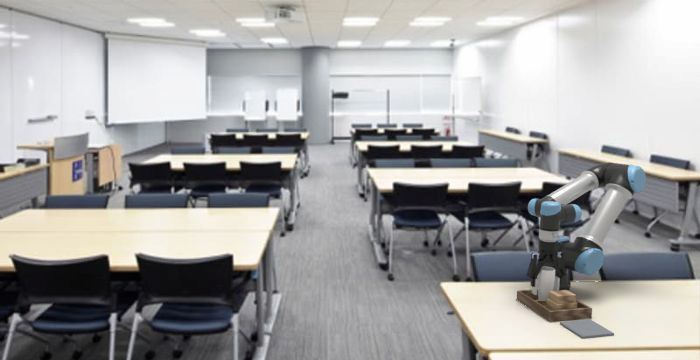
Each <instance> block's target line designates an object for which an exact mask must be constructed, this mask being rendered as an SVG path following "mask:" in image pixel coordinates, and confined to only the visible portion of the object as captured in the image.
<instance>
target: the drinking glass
mask: <svg viewBox="0 0 700 360" xmlns="http://www.w3.org/2000/svg"><path fill="white" fill-rule="evenodd" d="M537 279H538V287H537V289H538V299H537V300H546V299H548V296H549V291H553V288H554V282H555V269H554V268H552V267H547V266H543V267H542V268H541V270H540V272H539V274H538V277H537Z"/></svg>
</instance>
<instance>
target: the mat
mask: <svg viewBox="0 0 700 360" xmlns="http://www.w3.org/2000/svg"><path fill="white" fill-rule="evenodd" d="M559 325H560V326H562V327H564V328H565V329H567V330H568V331H570V332H571V333H573V334H574V335H575V336H578V337H579V338H580V339H584V340H585V339H591V338H592V339H593V338H600V337H601V338H602V337H611V336H615V332H613V331H611V330H610V329H607V328H605V326H603V325H601V324H599V323H598V322H596V321H594V320H592V318H589V319H578V320H567V321H559Z"/></svg>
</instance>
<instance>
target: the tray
mask: <svg viewBox="0 0 700 360" xmlns="http://www.w3.org/2000/svg"><path fill="white" fill-rule="evenodd" d="M553 289H554V288H553ZM559 291H560V290H559ZM517 300H518V301H517ZM516 301H517V302H519V301H520V302H521V303H520V302H519V303H520V304H522V303H523V304H524V305H523V304H522V305H523V306H525V305H526V306H527V308H528V309H529V308H530V310H531V311H533V312H534V313H536V314H537V315H539V316H540V317H542V318H543V319H545V320H546V321H548V322H549V323H555V322H567V321H577V320H588V319H592V318H593V317H592V315H593V308H592V307H591V306H589V305H587V304H585V303H583V302H582V301H580V300H578V299H576V302H577V309H566V310H555V311H551V310H549V309H548V308H546V307H545V306H544V305H546V300H538V288H537V295H534V294H532V289H521V290H520V289H519V290H516ZM526 306H525V307H526Z"/></svg>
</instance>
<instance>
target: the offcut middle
mask: <svg viewBox="0 0 700 360" xmlns="http://www.w3.org/2000/svg"><path fill="white" fill-rule="evenodd" d="M546 307H548V308H550V309H552V310H553V311H555V310H566V309H577V302H575V303H563V304H557V303H555V302H553V301H552V300H550V299H546Z"/></svg>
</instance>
